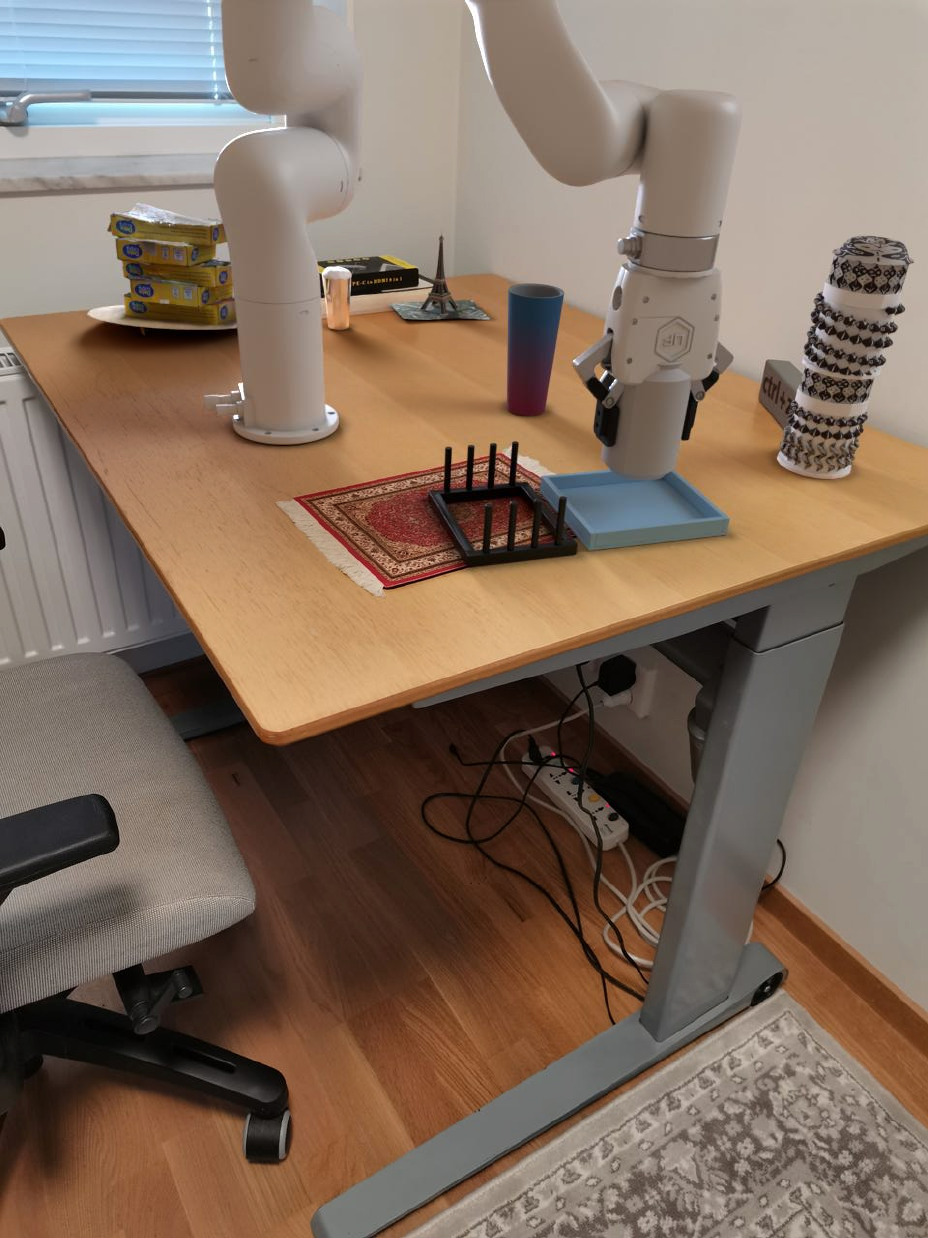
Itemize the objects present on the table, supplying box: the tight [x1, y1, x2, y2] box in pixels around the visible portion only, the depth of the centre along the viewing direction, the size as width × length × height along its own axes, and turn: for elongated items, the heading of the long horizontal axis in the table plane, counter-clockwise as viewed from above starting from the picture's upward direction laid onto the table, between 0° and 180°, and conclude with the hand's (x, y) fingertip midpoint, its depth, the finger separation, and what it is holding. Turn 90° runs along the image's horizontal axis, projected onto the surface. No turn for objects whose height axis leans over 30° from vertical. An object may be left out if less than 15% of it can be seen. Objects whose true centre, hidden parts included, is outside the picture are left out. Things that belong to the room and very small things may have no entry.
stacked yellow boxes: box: [87, 202, 237, 336], centre depth 135 cm, size 25×25×17 cm
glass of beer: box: [321, 261, 357, 331], centre depth 141 cm, size 4×5×10 cm
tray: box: [539, 469, 731, 552], centre depth 94 cm, size 15×13×2 cm
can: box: [601, 362, 692, 481], centre depth 88 cm, size 8×8×12 cm
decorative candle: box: [776, 235, 915, 480], centre depth 100 cm, size 9×9×25 cm
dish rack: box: [427, 440, 579, 568], centre depth 89 cm, size 11×14×6 cm
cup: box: [506, 282, 565, 417], centre depth 114 cm, size 7×7×15 cm
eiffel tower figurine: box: [389, 228, 491, 321], centre depth 150 cm, size 15×10×13 cm
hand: (642, 437), depth 90 cm, fingers closed on can, 7 cm apart
